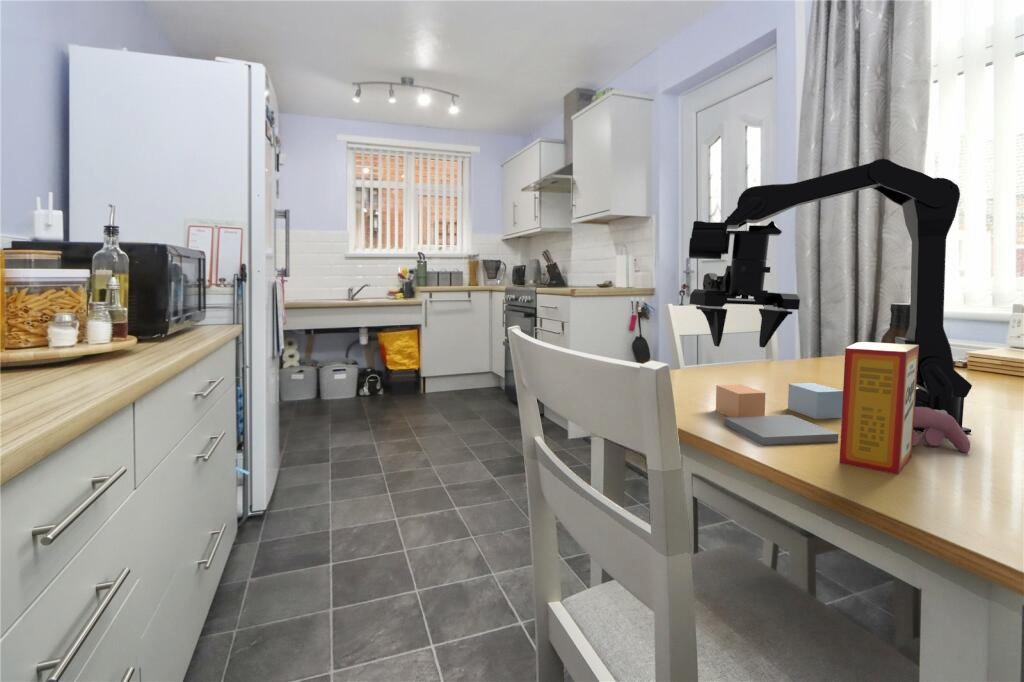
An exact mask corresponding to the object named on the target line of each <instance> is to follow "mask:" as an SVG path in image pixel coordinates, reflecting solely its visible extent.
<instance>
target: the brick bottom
mask: <svg viewBox="0 0 1024 682" xmlns="http://www.w3.org/2000/svg"><path fill="white" fill-rule="evenodd" d="M716 410H717V411H716ZM715 411H716V412H718V411H719V412H718V413H721V414H723V415H725V416H727V417H747V416H766V412H765V411H766V392H764V391H761V390H758V389H756V388H753V387H750V386H747V385H744V384H720V385H719V384H717V385H716V392H715Z"/></svg>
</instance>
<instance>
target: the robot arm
mask: <svg viewBox="0 0 1024 682" xmlns="http://www.w3.org/2000/svg"><path fill="white" fill-rule="evenodd" d="M866 189H873V190H875V191H876V192H878V193H879V194H881V195H882V196H884V197H885V198H886V199H888V200H890V201H891V202H893V203H894V204H897V205H898V206H900V207H902V208H901V209H902V213H903V217H904V223H905V227H906V229H907V232H908V235H909V236H910V240H911V255H910V256H911V260H910V261H911V263H910V264H911V265H910V267H911V269H910V295H909V296H910V297H909V298H910V302H909V303H910V325H909V329H908V331H907V333H906V336H905V338H902V337H895V344H911V345H919V352H918V367H917V382H916V397H915V407H928V408H930V409H934V410H939V411H940V410H945V411H946V412H947V413H948V415H951V416H952V417H953V418H954V419H955V420H956V422H957V423H958V425H959V426H960V428H961V429H962V430H963V432H964V433H965V434H967V433H968V434H970V433H972V429H971V428H967V427H964V426H963V420H964V419H963V417H964V407H965V406H964V405H965V398H967V396H968V395H969V393H970V391H971V389H972V386H973V385H972V383H970V382H969V381H968V380H967V379H965V378H964V377H963V375H961V374H960V373H959V372H958V371H956V370H955V362H954V358H953V353H952V347H951V344H950V342H949V339H948V336H947V334H946V331H945V327H944V316H945V315H944V314H945V283H946V281H945V280H946V252H947V251H946V250H947V248H946V247H947V238H948V235H949V231H950V229H951V227H952V225H953V222H954V220H955V218H956V216H957V215H956V214H957V210H958V206H959V202H960V198H961V192H960V187H959V186H958V184H956V183H955V182H954V181H952V180H951V179H948V178H945V177H931V176H929V175H928V174H925V173H923V172H920V171H917V170H915V169H911V168H908V167H904V166H901V165H899V164H897V163H895V162H893V161H891V160H890V159H887V158H879V159H874V161H871V162H869V163H865V164H862V165H857V166H855V167H850V168H846V169H843V170H838V171H836V172H831V173H828V174H823V175H821V176H817V177H813V178H808V179H804V180H801V181H797V182H793V183H792V182H791V183H777V184H776V183H775V184H764V185H757V186H756V185H755V186H751V187H748V188H747V189H745V190H743V192H741V194H740V195H739V197H738V200H737V203H736V204H737V206H736V208H735V209H734V210H733V212H731V214H730V215H729V216H727V217H726V219H725V220H724V221H723V222H721V221H718V222H715V221H713V222H712V221H703V220H702V221H701V220H694V221H693V224H692V230H691V237H690V238H689V244H688V245H689V246H688V258H689V259H701V260H722V256H724V255H729V249H730V238H731V236H733V242H732V243H733V244H732V251H731V253H732V254H731V262H730V263H731V264H730V265H726V268H725V273H724V274H723V275H718V274H717V273H715V272H714V273H712V272H708V273H706V274H704V275H703V281H702V288H701V289H700V288H694V289H693V290H692V291H691V293H690V295H689V305H694V306H695V308H696V310H699V311H701V313H702V314H703V315H704V316H705V318H706V321H707V323H708V327H709V332H710V335H711V338H712V339H711V340H712V342H713V346H714V347H720V345H721V343H722V338H723V334H724V329H725V324H726V318H727V313H728V309H727V308H723V307H724V306H725V305H750V306H754V305H755V306H763V308H758V311H759V314H760V318H761V319H760V321H761V322H760V332H759V341H758V344H759V348H766V346H767V345H768V344H769V342H770V340H771V339H772V337H773V336H774V334H775V333H776V331H777V330H778V328H779V327H780V326H781V324H782V323H783V322H784V321H785V319H787V317H788V316H789V315H792V314H793V313H794V312H793V311H794V310H797V311H798V310H800V304H801V299H800V297H799V295H798V294H796V293H790V292H789V293H787V292H769V290H764V285H765V277H766V276H765V275H766V273H767V274H768V273H769V274H770V273H771V266H767V258H768V249H769V239H770V236H773V237H778V236H780V235H781V234H782V233H783V232H782V231H783V230H781V229H780V228H779V227H778V226H777V225H776V223H775V221H774V220H771V221H770V222H769V223H768V224H767V225H758V223H761V222H764V221H765V220H768V219H770V218H773V217H776V216H778V215H781V214H782V213H784V212H786V211H789V210H792V209H794V208H796V207H798V206H803V205H807V204H810V203H815V202H819V201H822V200H826V199H831V198H835V197H838V196H842V195H847V194H851V193H855V192H859V191H864V190H866ZM747 224H751V225H748V230H738V229H740V228H741V227H743V226H745V225H747ZM753 224H757V225H753ZM750 297H753V298H750ZM790 310H791V311H790ZM792 310H793V311H792ZM913 429H918V430H920V431H923V432H924V430H925V428H922V427H913Z"/></svg>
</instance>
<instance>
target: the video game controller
mask: <svg viewBox="0 0 1024 682" xmlns="http://www.w3.org/2000/svg"><path fill="white" fill-rule="evenodd" d="M914 427H922V428H925V430H924V431H923V432H922V433H921V441H922V443H923V444H924V445H926V446H927V447H930V448H931V447H932V448H933V447H939V445H941V444H942V442H943V439H944V438H945V439H947V441H949V442H950V443H951V444H952V445H953V446H954V448H956V449H957V451H960V452H962V453H964V454H966V453H967V454H968V453H969V452H970V450H971V441H970V440H969V439H970V438H969V437H968V436H967V433H964V432H963V430H962V429H961V428H960V426H959V425H958V423H957V422H956V420H955V419H954V418H953V417H952V416H951V415H948V413H947V412H946V411H945V410H940V411H939V410H934V409H930V408H928V407H915V412H914ZM914 427H913V428H914ZM919 442H920V437H919V434H918V433H917V432H916V431H915V430H914V429H913V443H912V446H915V445H918V443H919Z"/></svg>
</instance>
